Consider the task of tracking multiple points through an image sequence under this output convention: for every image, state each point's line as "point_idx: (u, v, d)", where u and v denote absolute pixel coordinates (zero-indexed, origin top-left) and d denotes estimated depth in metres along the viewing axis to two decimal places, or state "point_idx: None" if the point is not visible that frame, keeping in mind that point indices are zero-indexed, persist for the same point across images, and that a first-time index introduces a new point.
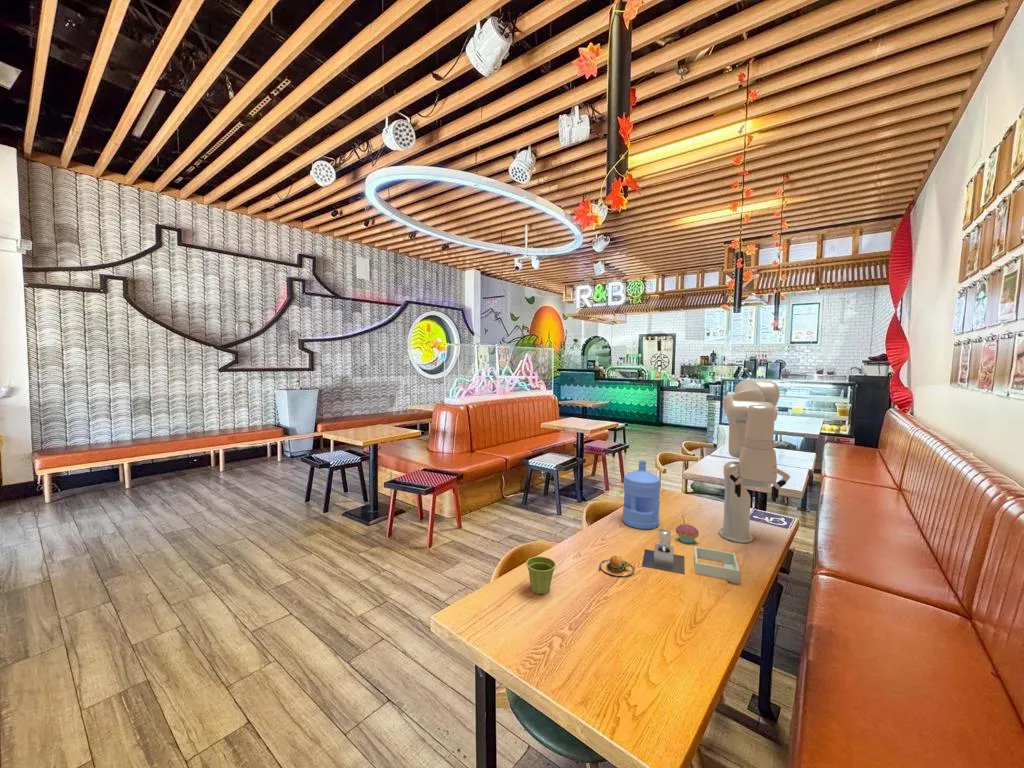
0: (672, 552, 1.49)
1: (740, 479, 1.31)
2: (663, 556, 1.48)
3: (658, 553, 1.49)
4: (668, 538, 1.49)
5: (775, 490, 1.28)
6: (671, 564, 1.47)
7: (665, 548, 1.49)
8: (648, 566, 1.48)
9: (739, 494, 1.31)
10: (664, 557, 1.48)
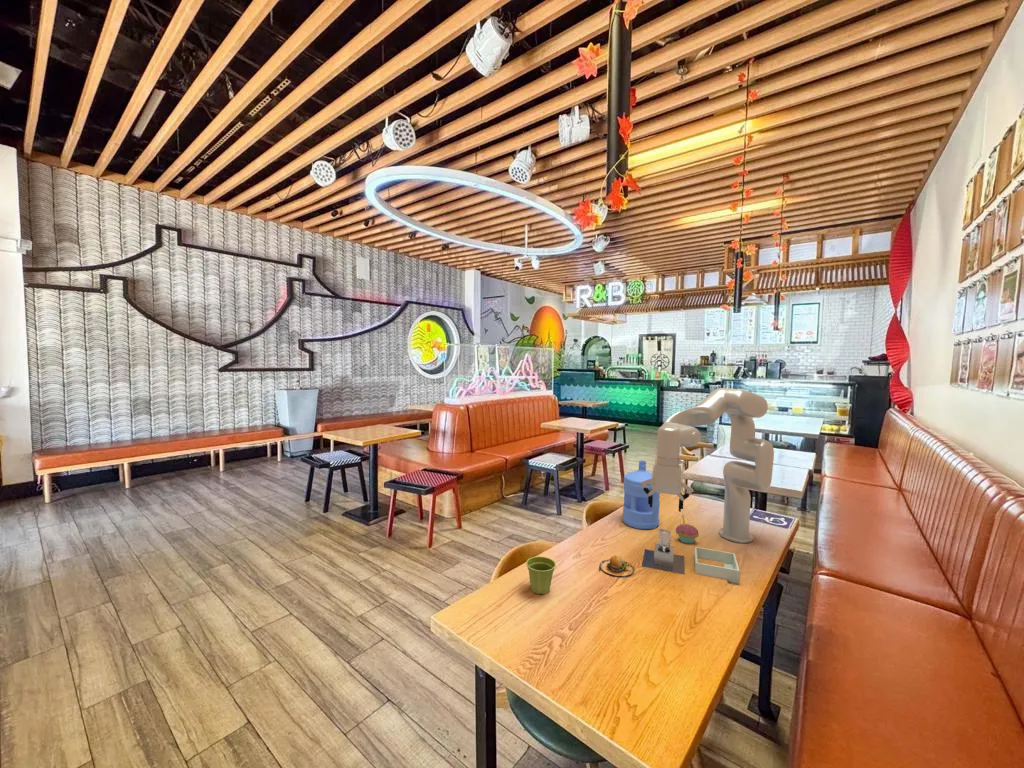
0: (672, 552, 1.49)
1: (651, 491, 1.50)
2: (663, 556, 1.48)
3: (658, 553, 1.49)
4: (668, 538, 1.49)
5: (680, 502, 1.46)
6: (671, 564, 1.47)
7: (665, 548, 1.49)
8: (648, 566, 1.48)
9: (651, 504, 1.50)
10: (664, 557, 1.48)
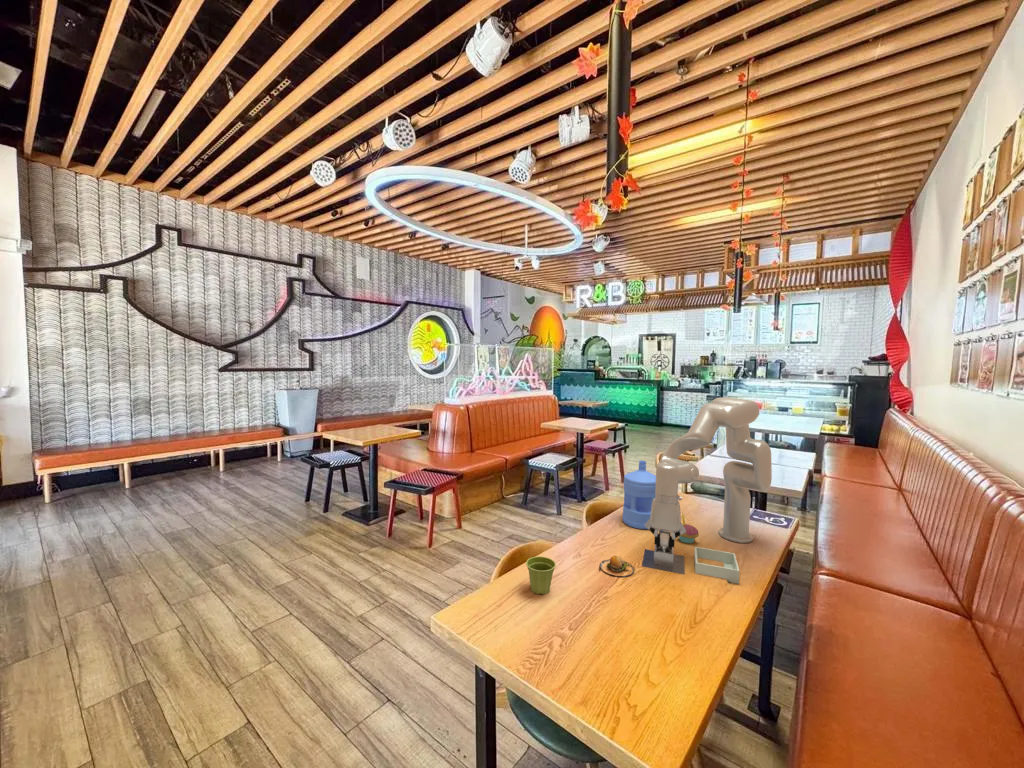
0: (672, 552, 1.49)
1: (656, 531, 1.50)
2: (663, 556, 1.48)
3: (658, 553, 1.49)
4: (668, 538, 1.49)
5: (671, 540, 1.48)
6: (671, 564, 1.47)
7: (665, 548, 1.49)
8: (648, 566, 1.48)
9: (657, 545, 1.50)
10: (664, 557, 1.48)
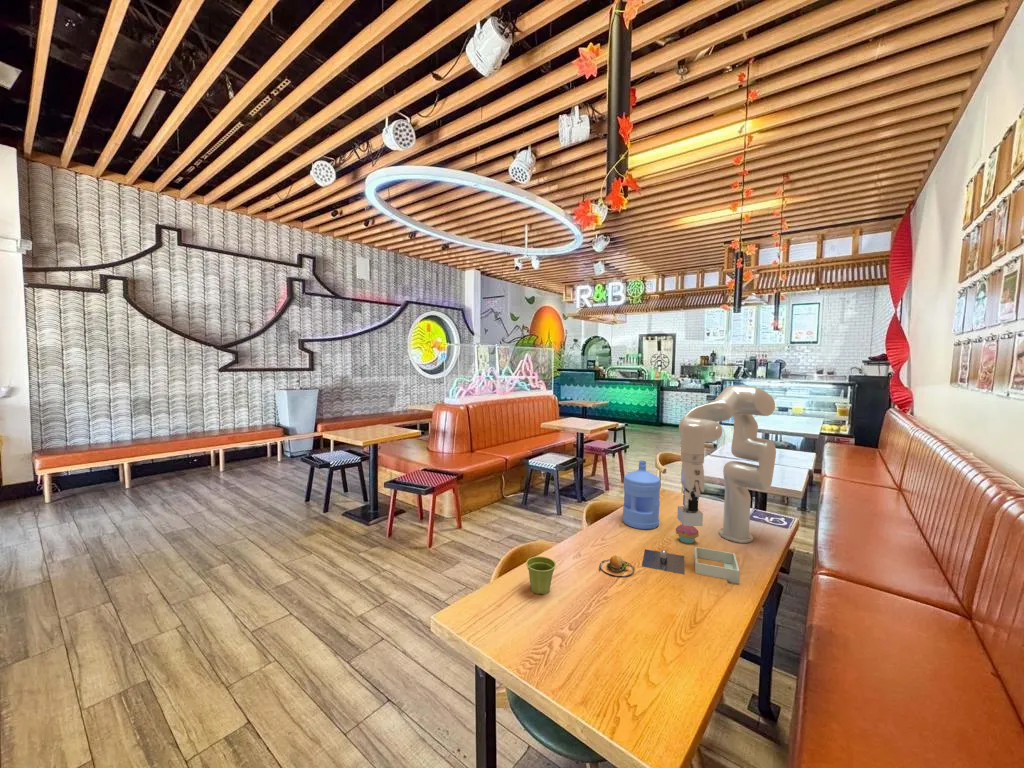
0: (688, 512, 1.45)
1: (684, 488, 1.50)
2: (680, 513, 1.48)
3: (679, 509, 1.50)
4: (687, 497, 1.46)
5: (688, 500, 1.45)
6: (683, 522, 1.46)
7: (685, 507, 1.48)
8: (648, 566, 1.48)
9: (683, 502, 1.50)
10: (680, 514, 1.48)
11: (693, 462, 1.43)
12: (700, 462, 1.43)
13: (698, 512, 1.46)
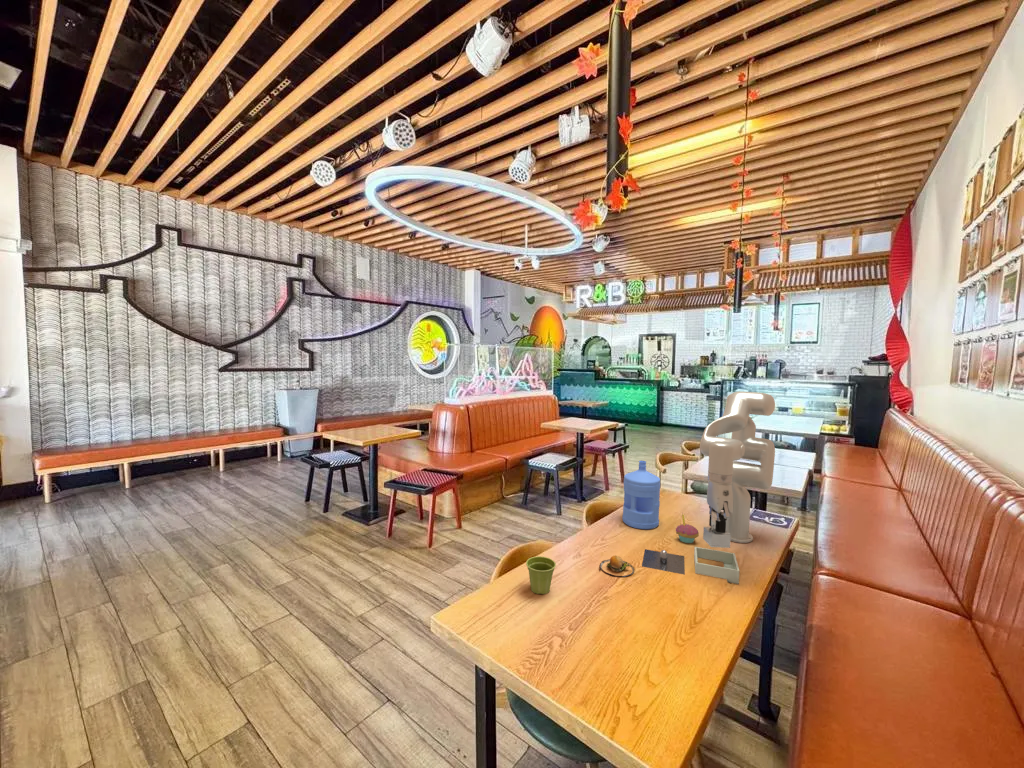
0: (716, 534, 1.43)
1: (710, 508, 1.48)
2: (707, 533, 1.46)
3: (705, 529, 1.48)
4: (715, 518, 1.44)
5: (716, 521, 1.43)
6: (710, 544, 1.44)
7: (712, 527, 1.45)
8: (648, 566, 1.48)
9: (709, 523, 1.48)
10: (707, 535, 1.46)
11: (722, 482, 1.41)
12: (729, 482, 1.41)
13: (726, 533, 1.44)
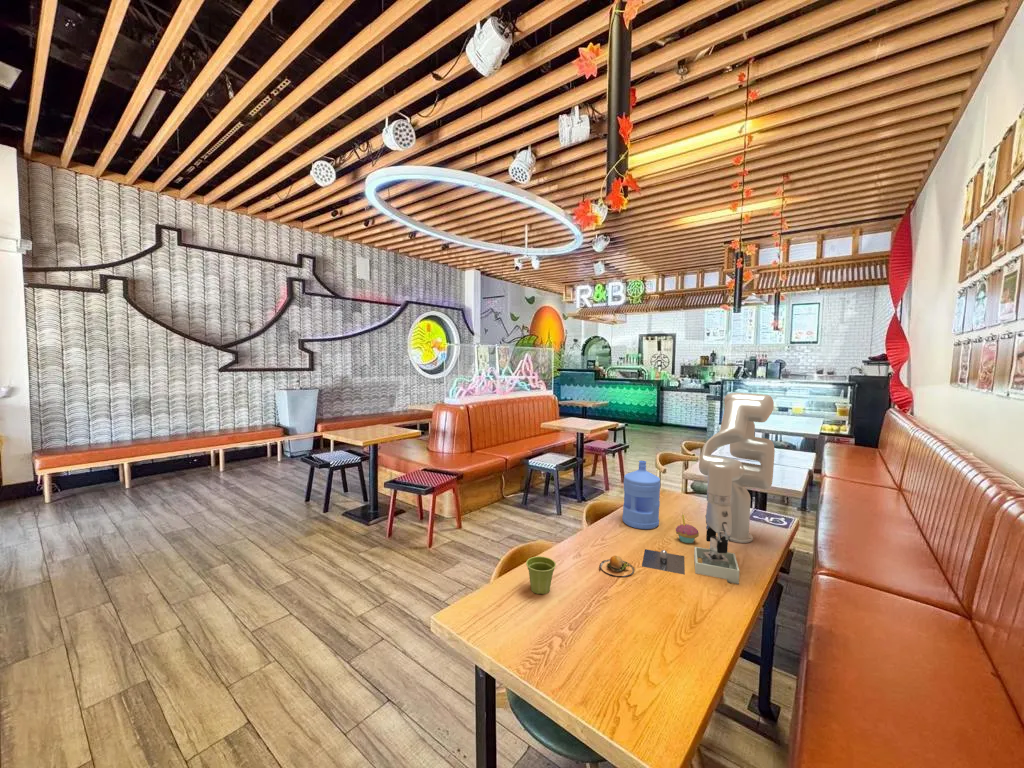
0: (714, 560, 1.44)
1: (707, 525, 1.50)
2: (706, 559, 1.47)
3: (704, 555, 1.49)
4: (714, 545, 1.45)
5: None
6: None
7: (711, 554, 1.46)
8: (648, 566, 1.48)
9: (706, 538, 1.51)
10: (706, 561, 1.47)
11: (721, 503, 1.42)
12: (728, 503, 1.42)
13: (724, 559, 1.45)
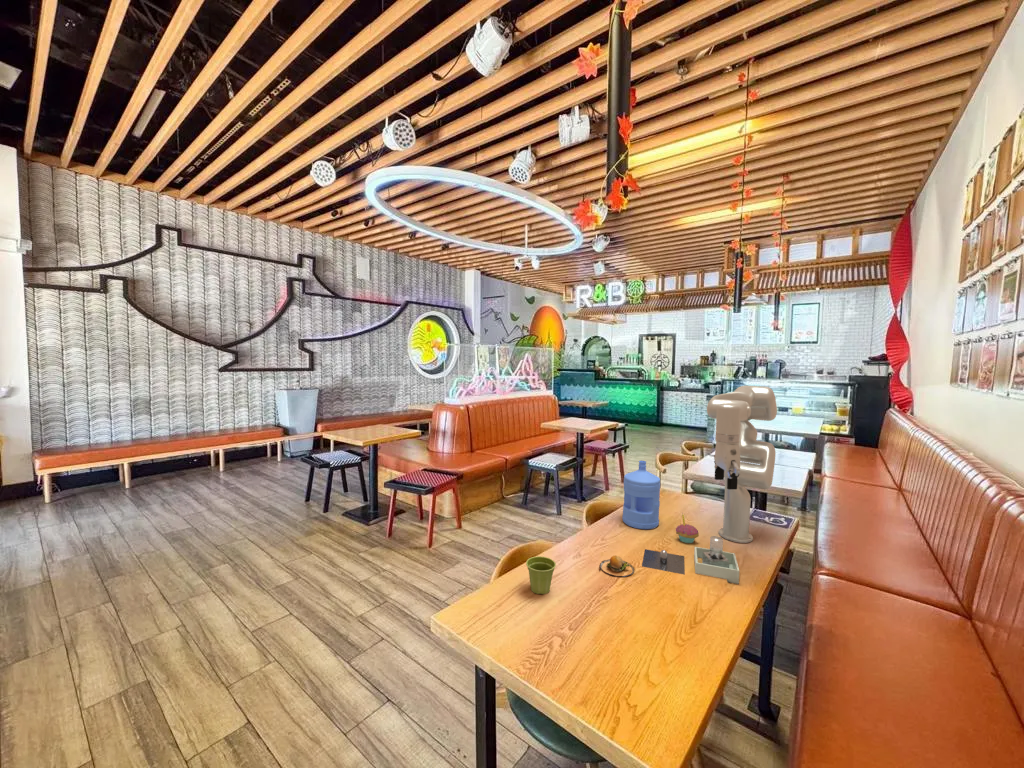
0: (714, 560, 1.44)
1: (716, 464, 1.55)
2: (706, 559, 1.47)
3: (704, 555, 1.49)
4: (714, 545, 1.45)
5: (727, 479, 1.46)
6: None
7: (711, 554, 1.46)
8: (648, 566, 1.48)
9: (715, 477, 1.56)
10: (706, 561, 1.47)
11: (729, 442, 1.46)
12: (736, 442, 1.46)
13: (724, 559, 1.45)
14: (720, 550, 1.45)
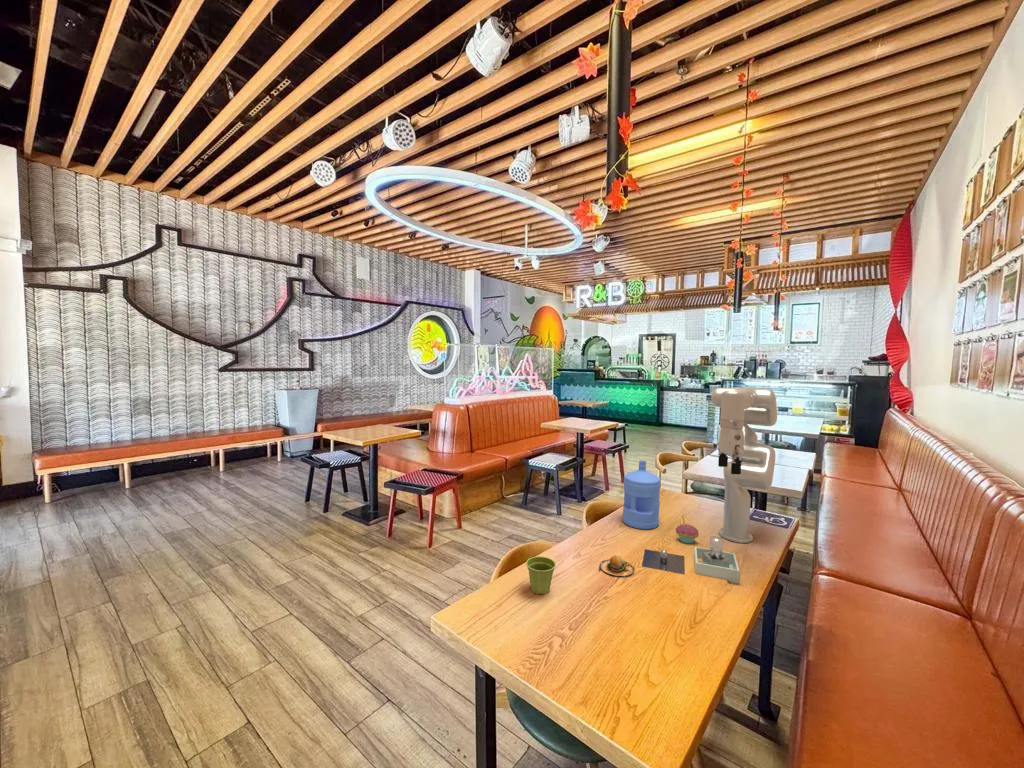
0: (714, 560, 1.44)
1: (720, 451, 1.58)
2: (706, 559, 1.47)
3: (704, 555, 1.49)
4: (714, 545, 1.45)
5: (731, 464, 1.49)
6: None
7: (711, 554, 1.46)
8: (648, 566, 1.48)
9: (718, 463, 1.59)
10: (706, 561, 1.47)
11: (733, 428, 1.49)
12: (740, 428, 1.50)
13: (724, 559, 1.45)
14: (720, 550, 1.45)
